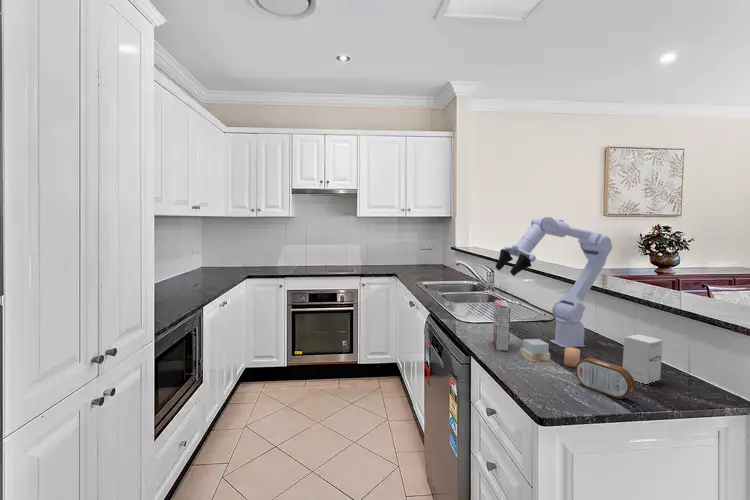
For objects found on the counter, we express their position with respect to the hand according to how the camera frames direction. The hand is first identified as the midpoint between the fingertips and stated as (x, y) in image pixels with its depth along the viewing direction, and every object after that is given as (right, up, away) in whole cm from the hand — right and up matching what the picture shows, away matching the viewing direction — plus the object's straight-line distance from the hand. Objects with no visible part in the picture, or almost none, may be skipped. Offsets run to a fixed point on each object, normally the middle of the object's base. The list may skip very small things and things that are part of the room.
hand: (504, 271), depth 143 cm
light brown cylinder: (+19, -30, -11) cm, 37 cm away
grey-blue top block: (+9, -27, -6) cm, 29 cm away
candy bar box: (+1, -29, +6) cm, 29 cm away
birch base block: (+9, -30, -6) cm, 32 cm away
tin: (+16, -32, -33) cm, 49 cm away
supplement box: (+33, -31, -23) cm, 51 cm away
